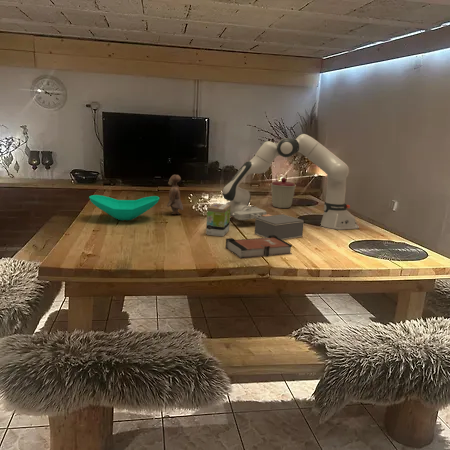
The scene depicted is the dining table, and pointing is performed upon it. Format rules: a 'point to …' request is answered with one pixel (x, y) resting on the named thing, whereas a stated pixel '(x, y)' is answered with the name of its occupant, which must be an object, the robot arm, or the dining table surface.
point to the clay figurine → (174, 194)
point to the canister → (282, 193)
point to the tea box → (218, 219)
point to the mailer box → (279, 230)
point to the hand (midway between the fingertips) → (259, 217)
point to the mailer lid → (279, 219)
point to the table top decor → (124, 206)
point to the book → (258, 247)
